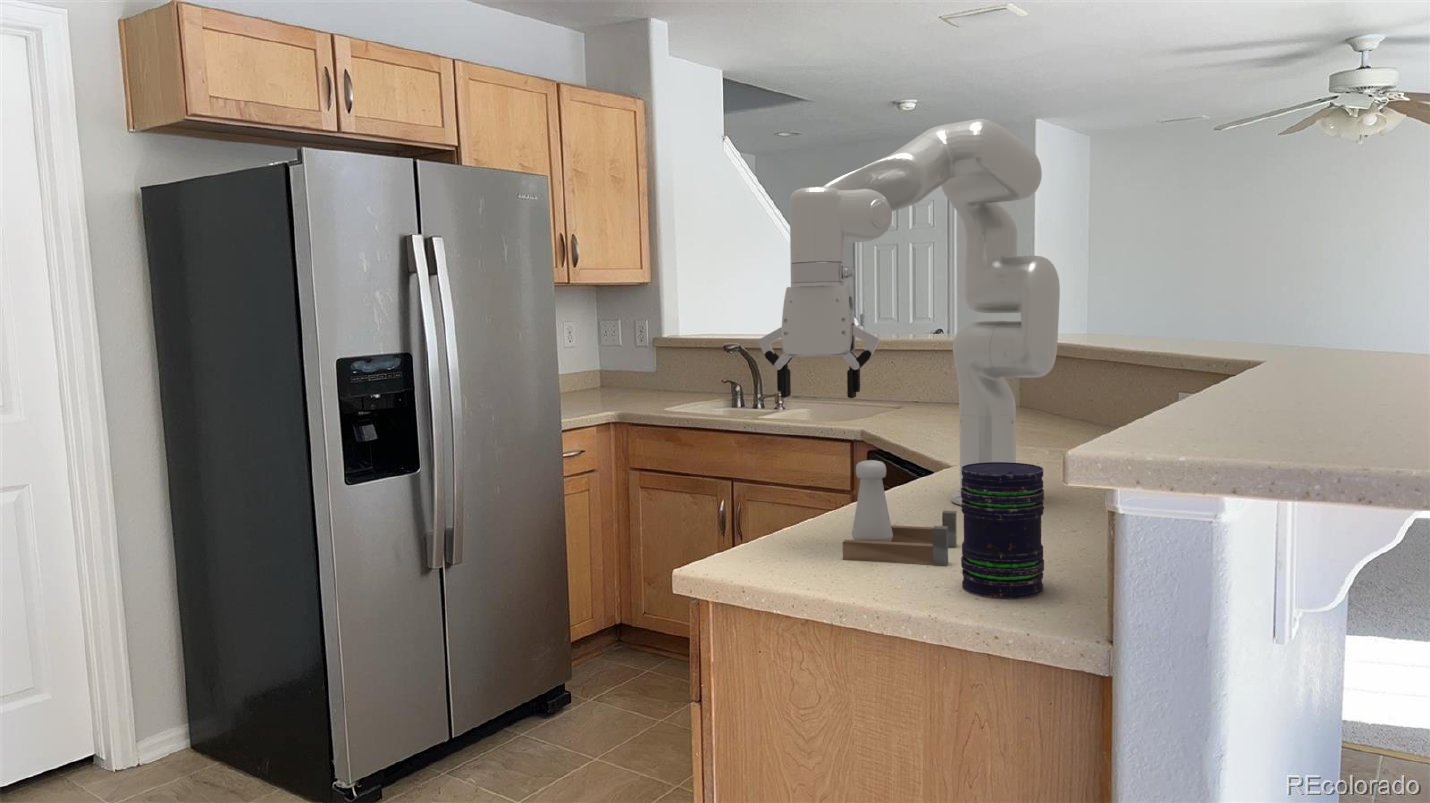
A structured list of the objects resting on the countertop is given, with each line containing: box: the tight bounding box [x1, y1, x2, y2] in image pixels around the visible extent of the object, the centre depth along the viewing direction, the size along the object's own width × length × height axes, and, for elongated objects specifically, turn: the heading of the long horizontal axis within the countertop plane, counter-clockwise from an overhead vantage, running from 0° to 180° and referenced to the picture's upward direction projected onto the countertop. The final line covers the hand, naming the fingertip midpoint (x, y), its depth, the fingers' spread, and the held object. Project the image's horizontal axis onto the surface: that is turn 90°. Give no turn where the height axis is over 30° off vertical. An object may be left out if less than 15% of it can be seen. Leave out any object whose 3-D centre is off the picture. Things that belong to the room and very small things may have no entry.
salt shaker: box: [851, 459, 893, 542], centre depth 144 cm, size 6×6×13 cm
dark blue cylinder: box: [960, 462, 1045, 600], centre depth 124 cm, size 10×10×15 cm
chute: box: [842, 510, 958, 567], centre depth 143 cm, size 12×14×5 cm
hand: (818, 397), depth 144 cm, fingers open, 9 cm apart
